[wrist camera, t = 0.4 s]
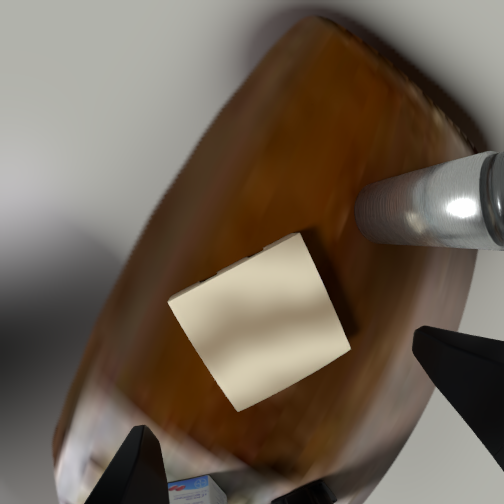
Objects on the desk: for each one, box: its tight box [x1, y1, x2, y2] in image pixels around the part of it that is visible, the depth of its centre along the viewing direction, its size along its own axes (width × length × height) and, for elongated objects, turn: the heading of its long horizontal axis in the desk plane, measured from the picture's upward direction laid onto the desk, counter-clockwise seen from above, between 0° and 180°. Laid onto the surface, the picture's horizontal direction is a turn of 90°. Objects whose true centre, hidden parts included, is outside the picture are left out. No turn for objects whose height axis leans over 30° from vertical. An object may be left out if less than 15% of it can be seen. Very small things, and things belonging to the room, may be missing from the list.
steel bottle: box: [354, 151, 504, 251], centre depth 16 cm, size 5×5×14 cm
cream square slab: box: [168, 233, 351, 412], centre depth 20 cm, size 10×10×2 cm
